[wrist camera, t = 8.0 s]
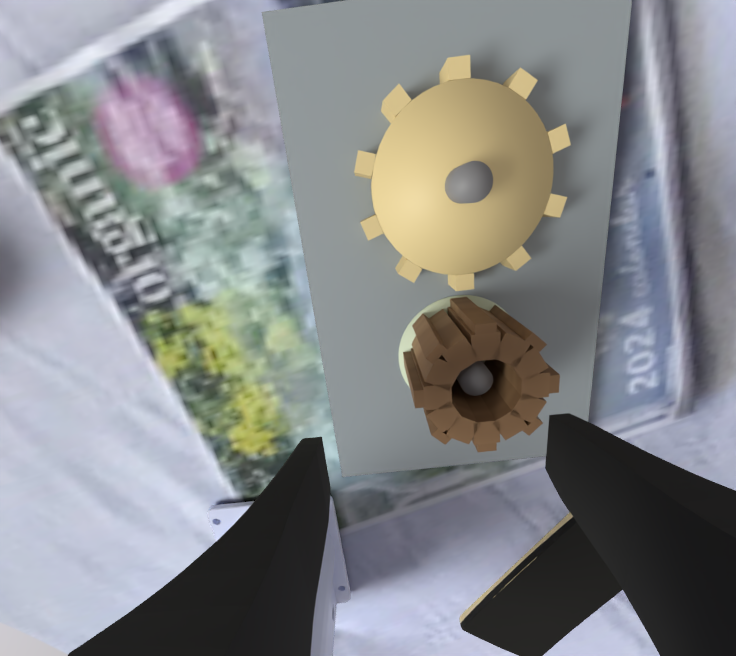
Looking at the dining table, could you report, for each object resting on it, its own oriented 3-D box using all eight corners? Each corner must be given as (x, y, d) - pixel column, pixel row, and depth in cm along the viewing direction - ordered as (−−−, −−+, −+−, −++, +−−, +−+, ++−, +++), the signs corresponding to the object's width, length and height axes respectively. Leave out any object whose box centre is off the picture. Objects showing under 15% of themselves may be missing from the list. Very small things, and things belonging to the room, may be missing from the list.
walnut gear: (516, 396, 19) (555, 444, 15) (408, 408, 19) (419, 458, 15) (518, 290, 17) (563, 314, 13) (398, 304, 17) (408, 332, 13)
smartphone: (458, 631, 26) (606, 495, 22) (454, 614, 27) (594, 481, 23) (533, 664, 27) (686, 542, 23) (527, 646, 28) (672, 527, 24)
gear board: (573, 439, 21) (621, 492, 17) (343, 462, 22) (339, 520, 18) (614, -21, 14) (713, -110, 10) (269, 27, 14) (234, -42, 10)
